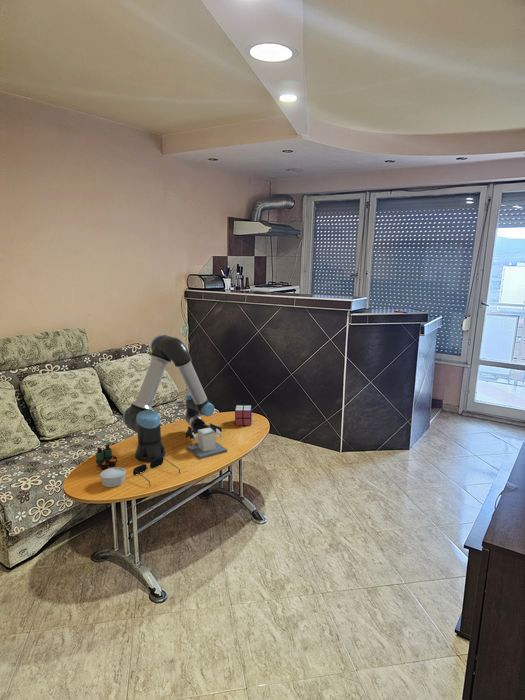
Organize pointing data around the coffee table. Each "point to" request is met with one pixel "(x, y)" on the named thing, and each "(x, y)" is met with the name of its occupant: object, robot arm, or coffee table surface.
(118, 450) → the coffee table surface
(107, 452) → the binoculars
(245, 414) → the puzzle cube
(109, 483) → the ramekin
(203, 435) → the white rectangular box
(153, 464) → the sunglasses
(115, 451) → the coffee table surface
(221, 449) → the post dock
